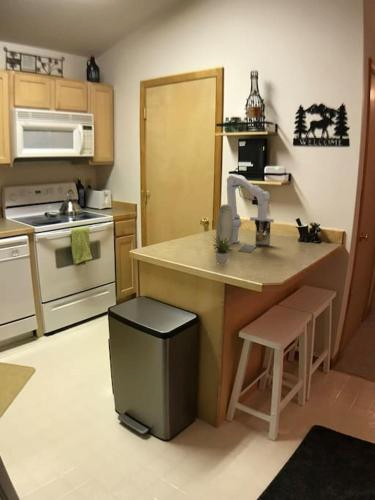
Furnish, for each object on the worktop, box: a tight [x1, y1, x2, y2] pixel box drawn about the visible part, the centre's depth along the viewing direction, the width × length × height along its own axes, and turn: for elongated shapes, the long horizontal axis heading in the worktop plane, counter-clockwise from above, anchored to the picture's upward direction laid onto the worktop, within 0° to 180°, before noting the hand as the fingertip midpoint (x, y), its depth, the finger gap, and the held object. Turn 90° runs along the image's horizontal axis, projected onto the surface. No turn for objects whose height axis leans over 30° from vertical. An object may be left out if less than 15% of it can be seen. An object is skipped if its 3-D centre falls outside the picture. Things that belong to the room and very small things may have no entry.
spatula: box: [257, 230, 266, 240], centre depth 251 cm, size 14×5×4 cm, turn 164°
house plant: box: [210, 235, 234, 265], centre depth 218 cm, size 14×14×16 cm
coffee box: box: [254, 220, 271, 246], centre depth 261 cm, size 9×6×16 cm
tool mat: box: [237, 243, 258, 254], centre depth 253 cm, size 8×19×1 cm, turn 159°
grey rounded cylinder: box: [215, 203, 234, 249], centre depth 246 cm, size 10×10×28 cm
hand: (260, 232), depth 251 cm, fingers closed on spatula, 3 cm apart
